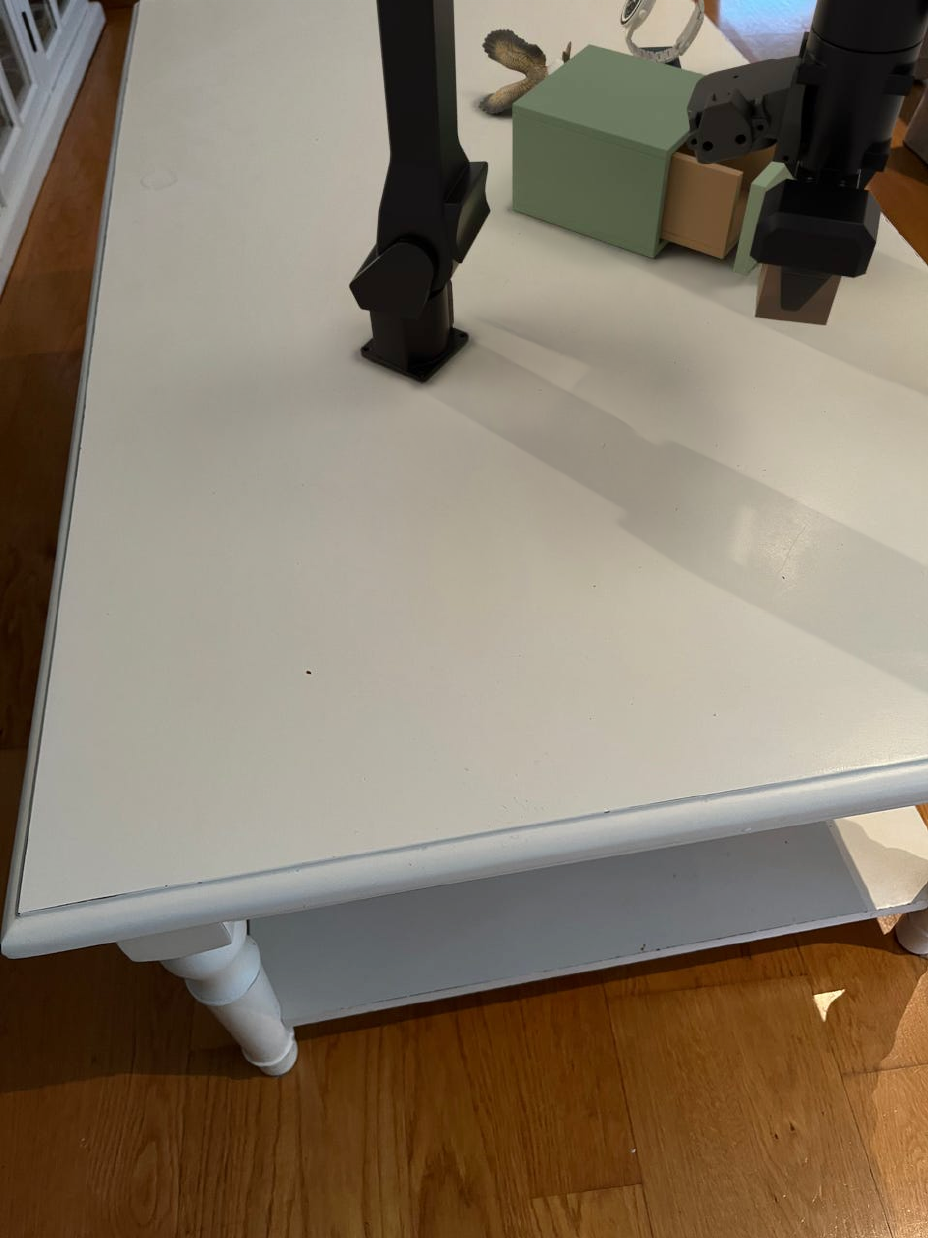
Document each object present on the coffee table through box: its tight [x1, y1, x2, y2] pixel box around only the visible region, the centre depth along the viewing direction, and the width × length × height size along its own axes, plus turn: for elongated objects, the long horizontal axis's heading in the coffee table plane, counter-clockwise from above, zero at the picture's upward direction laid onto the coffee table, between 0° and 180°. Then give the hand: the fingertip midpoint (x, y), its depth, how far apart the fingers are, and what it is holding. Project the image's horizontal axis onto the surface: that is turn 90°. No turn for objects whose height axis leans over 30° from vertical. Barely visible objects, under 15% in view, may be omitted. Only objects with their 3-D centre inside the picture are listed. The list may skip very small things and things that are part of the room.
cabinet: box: [511, 43, 707, 259], centre depth 85 cm, size 15×13×10 cm
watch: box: [619, 0, 705, 69], centre depth 96 cm, size 6×8×11 cm
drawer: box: [660, 141, 793, 277], centre depth 81 cm, size 18×11×8 cm, turn 55°
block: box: [754, 263, 843, 326], centre depth 62 cm, size 4×4×4 cm
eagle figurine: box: [478, 28, 572, 114], centre depth 98 cm, size 8×7×9 cm
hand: (794, 286), depth 63 cm, fingers closed on block, 4 cm apart
